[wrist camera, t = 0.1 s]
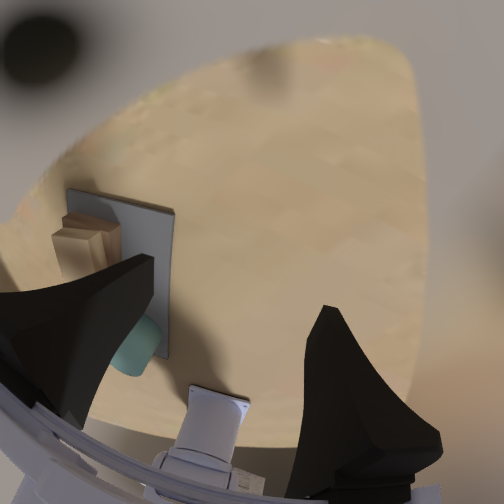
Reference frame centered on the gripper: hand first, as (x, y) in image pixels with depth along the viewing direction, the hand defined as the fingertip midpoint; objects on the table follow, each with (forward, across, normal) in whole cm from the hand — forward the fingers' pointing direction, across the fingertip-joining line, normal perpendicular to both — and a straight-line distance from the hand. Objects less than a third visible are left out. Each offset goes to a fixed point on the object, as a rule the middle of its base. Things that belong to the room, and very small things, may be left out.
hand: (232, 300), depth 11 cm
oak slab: (+8, +15, +7) cm, 18 cm away
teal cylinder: (+10, +10, +16) cm, 21 cm away
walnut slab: (+10, +15, +7) cm, 19 cm away
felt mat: (+10, +13, +11) cm, 20 cm away
